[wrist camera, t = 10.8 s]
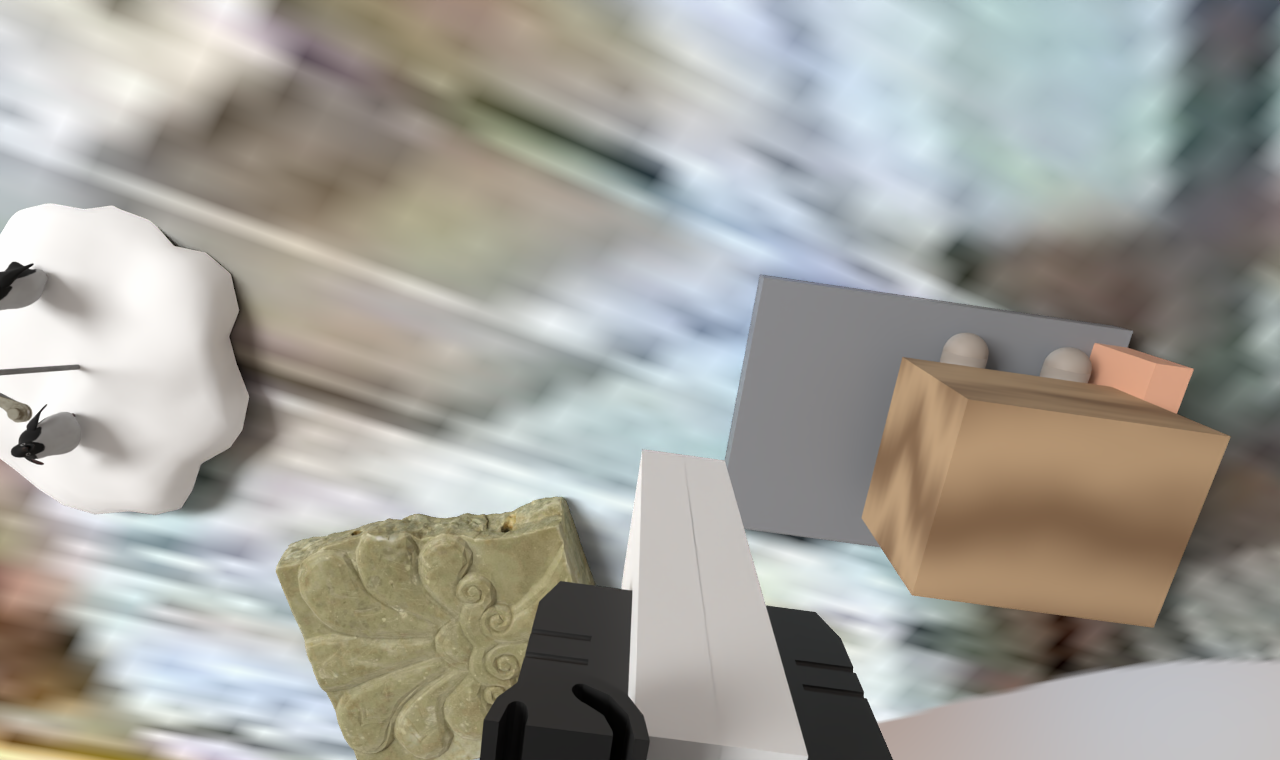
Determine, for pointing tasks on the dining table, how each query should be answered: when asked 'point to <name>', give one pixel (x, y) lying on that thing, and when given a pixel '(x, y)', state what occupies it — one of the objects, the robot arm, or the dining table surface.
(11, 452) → the figurine
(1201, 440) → the oak block
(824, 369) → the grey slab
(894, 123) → the dining table surface
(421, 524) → the decorative tile
